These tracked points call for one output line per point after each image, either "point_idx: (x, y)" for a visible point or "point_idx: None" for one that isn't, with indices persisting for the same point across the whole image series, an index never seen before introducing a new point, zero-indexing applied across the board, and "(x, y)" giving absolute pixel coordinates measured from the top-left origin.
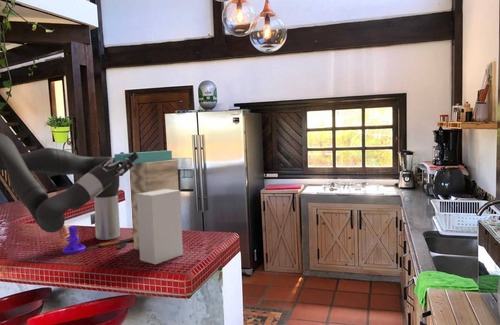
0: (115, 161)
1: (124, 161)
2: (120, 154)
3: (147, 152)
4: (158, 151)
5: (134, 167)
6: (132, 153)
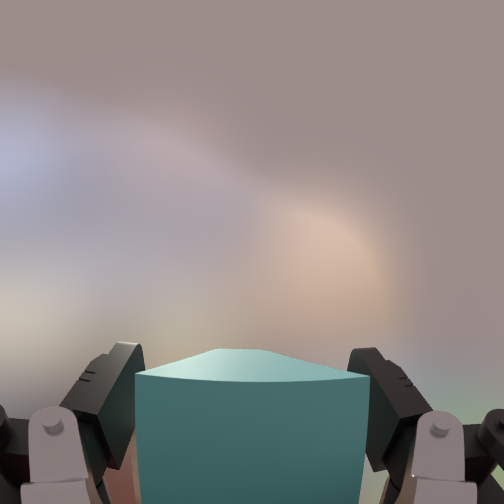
0: (165, 499)
1: (458, 465)
2: (352, 379)
3: (281, 355)
4: (256, 351)
5: None
6: (290, 362)
